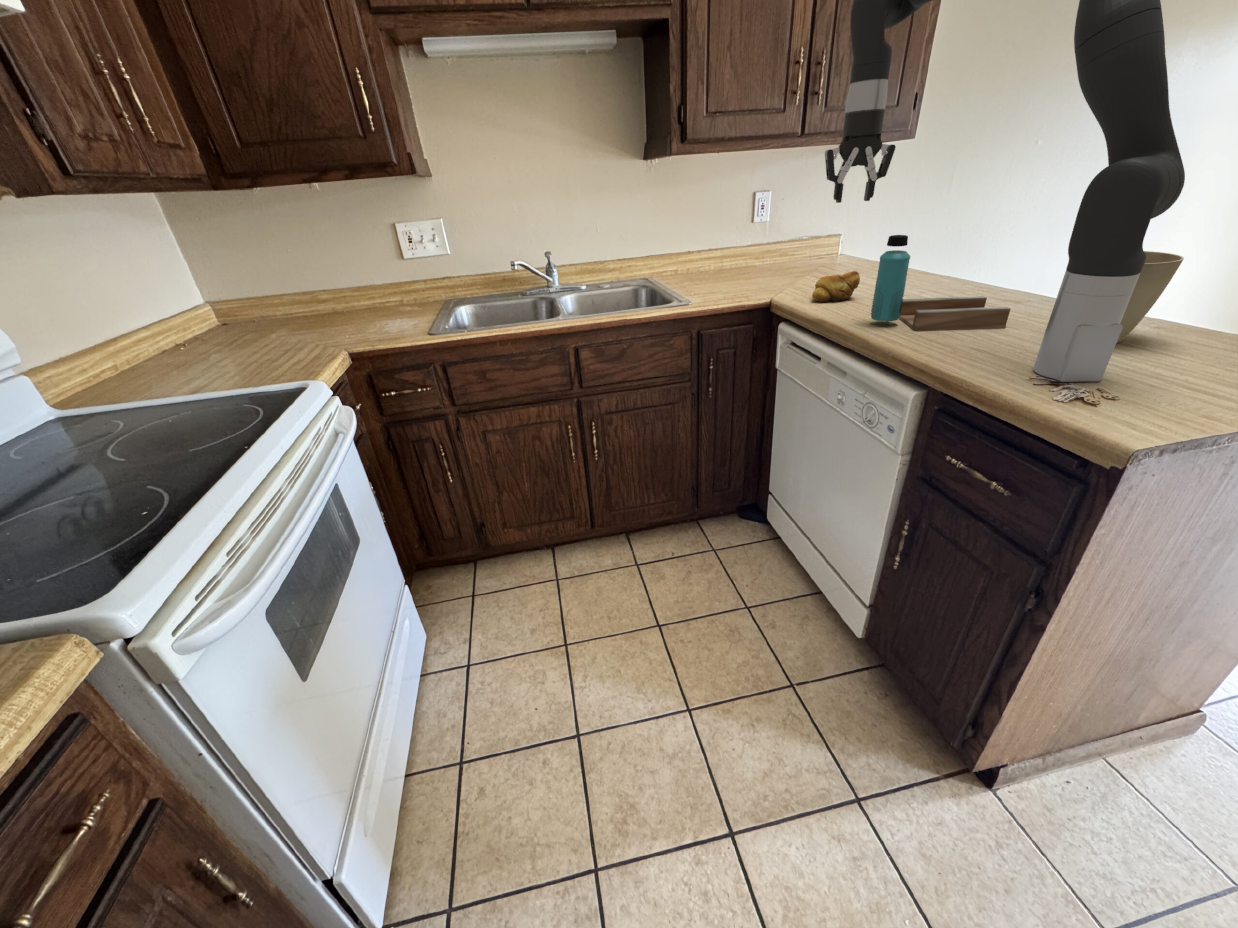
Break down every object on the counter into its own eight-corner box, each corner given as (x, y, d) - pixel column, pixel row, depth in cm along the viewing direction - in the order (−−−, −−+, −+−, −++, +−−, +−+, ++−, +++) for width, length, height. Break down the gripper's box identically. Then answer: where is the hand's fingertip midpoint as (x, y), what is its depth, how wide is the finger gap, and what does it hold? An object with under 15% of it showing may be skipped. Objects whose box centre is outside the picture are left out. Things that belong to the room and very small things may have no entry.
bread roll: (819, 305, 147) (823, 276, 143) (801, 299, 155) (804, 271, 151) (860, 300, 149) (865, 271, 145) (840, 294, 157) (844, 266, 153)
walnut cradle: (1005, 328, 117) (1010, 308, 115) (914, 330, 120) (918, 312, 118) (978, 314, 128) (983, 296, 126) (896, 316, 131) (899, 299, 129)
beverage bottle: (901, 327, 123) (919, 236, 113) (871, 328, 124) (886, 237, 114) (894, 320, 128) (911, 232, 119) (865, 321, 130) (879, 234, 120)
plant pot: (1063, 325, 116) (1090, 248, 108) (1153, 336, 106) (1190, 252, 98) (1042, 340, 108) (1070, 259, 100) (1138, 354, 98) (1176, 265, 90)
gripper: (832, 111, 104) (821, 205, 112) (909, 104, 102) (892, 200, 110) (824, 114, 111) (815, 203, 119) (896, 107, 108) (882, 198, 117)
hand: (852, 201), depth 115 cm, fingers open, 5 cm apart
